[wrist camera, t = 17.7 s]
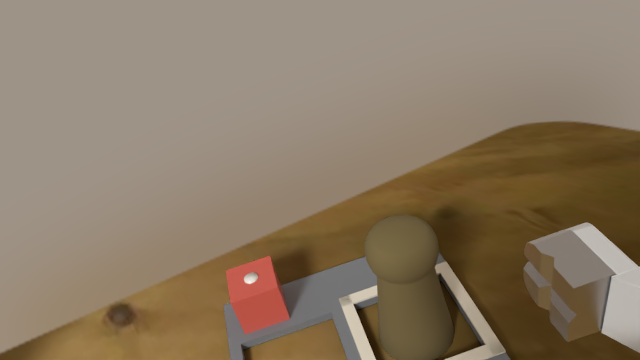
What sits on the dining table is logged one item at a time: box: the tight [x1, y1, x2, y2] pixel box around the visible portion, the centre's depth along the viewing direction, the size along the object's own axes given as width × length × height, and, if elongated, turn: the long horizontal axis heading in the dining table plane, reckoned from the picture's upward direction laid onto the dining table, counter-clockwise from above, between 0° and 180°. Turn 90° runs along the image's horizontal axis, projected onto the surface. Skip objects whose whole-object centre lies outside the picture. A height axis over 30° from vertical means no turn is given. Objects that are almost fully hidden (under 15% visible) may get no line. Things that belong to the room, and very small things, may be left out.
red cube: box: [226, 256, 290, 334], centre depth 46 cm, size 4×4×4 cm
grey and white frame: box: [224, 253, 510, 360], centre depth 43 cm, size 20×16×1 cm
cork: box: [365, 215, 454, 360], centre depth 40 cm, size 6×6×11 cm
